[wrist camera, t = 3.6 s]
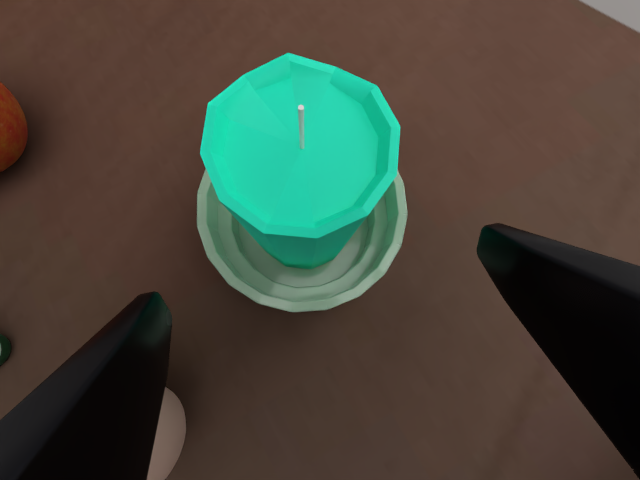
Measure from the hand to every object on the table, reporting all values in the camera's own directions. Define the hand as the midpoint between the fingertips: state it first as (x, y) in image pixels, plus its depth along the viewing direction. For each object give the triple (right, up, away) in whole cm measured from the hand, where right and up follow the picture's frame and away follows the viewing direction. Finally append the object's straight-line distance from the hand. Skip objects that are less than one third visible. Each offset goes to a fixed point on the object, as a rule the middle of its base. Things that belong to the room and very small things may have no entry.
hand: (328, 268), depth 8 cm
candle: (-1, +2, +11) cm, 11 cm away
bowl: (-1, +2, +11) cm, 11 cm away
